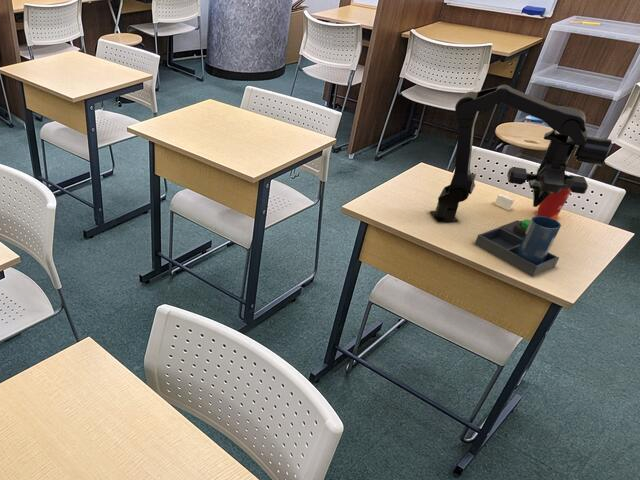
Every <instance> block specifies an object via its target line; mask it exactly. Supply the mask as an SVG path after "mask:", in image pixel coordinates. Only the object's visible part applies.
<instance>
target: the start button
mask: <svg viewBox="0 0 640 480" xmlns="http://www.w3.org/2000/svg"><path fill="white" fill-rule="evenodd" d="M522 221H523V222H522V224H521V227H522V228H524V229H527V228H528V226H529V224H530V221H531V219H528V218H527V219H523V220H522Z"/></svg>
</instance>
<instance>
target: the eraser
mask: <svg viewBox="0 0 640 480" xmlns="http://www.w3.org/2000/svg"><path fill="white" fill-rule="evenodd" d="M514 202H515V199H514V198H511V197H509V196H506V195H504V194H501V193H499V194H498V195H497V197H496V199H495V202H494V205H495V206H498V207H499V208H502V209H504V210H505V211H506V210H507V211H510V210H511V209H512V207H513V204H514Z"/></svg>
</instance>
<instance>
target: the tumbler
mask: <svg viewBox="0 0 640 480" xmlns="http://www.w3.org/2000/svg"><path fill="white" fill-rule="evenodd" d="M530 220H531V221H530V224H529V226H528V228H527V230H526V233H525V235H524V237H523V239H522V242H521V244H520V246H519V248H518V251H517V253H516V255H518V256H520V257H522V258H524V259H526V260H527V261H529V262H531V263H533V264H535V265H538V264H541V263H543V262H544V260H545V258H546V256H547V254H548V252H549V251H550V250H551V248H552V246H553V243H554V241H555V239H556V237H557V235H558V233H559V232H560V229H561V227H562V225H561V222H559V221H558V220H557V219H552V218H549V217H545V216H538V215H535V216H532V218H531V219H530ZM549 253H550V252H549Z"/></svg>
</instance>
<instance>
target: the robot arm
mask: <svg viewBox="0 0 640 480" xmlns="http://www.w3.org/2000/svg"><path fill="white" fill-rule="evenodd" d="M499 104H503V105H505V106H507V107H509V108H512V109H514V110H516V111H519V112H522V113H524V114H526V115H529V116H531V117H533V118H536V119H538V120H540V121H542V122H544V123H545V124H547V126H549V127H550V128H551V129H552V130H550V131H547V132H545V133H544V136H543V140H546V141H549V143H548V146H547V148H546V150H545V153H544V154H543V156H542V159H541V162H540V165H539V167H538V168H537V170H536V173H529V172H527V168H526V167H525V168H524V167H518V166H517V167H516V166H512V167H510V168H508V171H507V173H506V176H507V183H509V184H515V185H519V186H520V185H522V184H523V185H524V184H526V181H528V186H529V188H530V189H532V206H533V207H534V208H537V207H539V204H540V203H541V202H542V201H543V200H544V199H545V198H546V197H548V196H549V195H550V194H552V193H559V192H560V190H561V189H564V190H567V189H570V190H571V193H574V194H580V195H581V194H582V195H584V194H586V192H587V190H588V187H589V185H588V182H587V179H586V178H585V176H581V175H580V176H579V175H574V174H572V175H569V176H568V175H565V173H566V169H567V167H568V165H567V164H568V162H569V160H570V157H571V155H572V153H573V151H574V153H573V157H575V160H576V162H580V163H583V164H589V165H595V166H600V167H602V166H603V165H604V163H605V161H606V160H607V157H608V152H609V150H610V147H611V145H612V141H613V140H612V139H610V138H600V137H594V136H589V135H588V130H587V128H586V126H585V124H586V120H587V116H586V113H585V112H584V111H583V110H581V109H578V108H576V107H575V108H574V107H571V106H565V105H555V104H552V103H550V102H547V101H544V100H542V99H539V98H537V97H535V96H533V95H530V94H527V93H525V92H523V91H520V90H518V89H515V88H513V87H511V86H510V85H508V84H500V85H499V86H496V87H492V88H491V87H490V88H486V89H482V90H479V91H477V92H476V91H472V90H471V91H467V92H465V93H463V94H462V96H460V98H459V100H458V101H457V103H456V104H455V107H454V111H455V121H456V123H457V127H458V130H457V141H456V150H455V151H456V152H455V163H454V173H453V176H452V178H451V181H450V184H449V185H446V186H444V187H443V189H442V190H441V192H440V194H439V196H438V198H437V204H436V207H435V210H430V211H429V214H430V215H431V216H432V217H433V219H434V220H435V221H436V222H437V223H458V222H459V220H458V218H457V217H456V214H457V212H458V208H459V205H460V203H461V202H464V201H466V200H467V199H468V198H469V196H470V195H472V193H473V191H474V189H475V187H476V183H475V179H476V176H477V174H476V173H472V172H471V160H472V151H473V142H474V132H475V124H476V121H477V119H478V116H479V112H480V111H484V110H486V109H488V108H491V107H493V106H496V105H499ZM575 147H576V148H575ZM574 149H575V150H574Z"/></svg>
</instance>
